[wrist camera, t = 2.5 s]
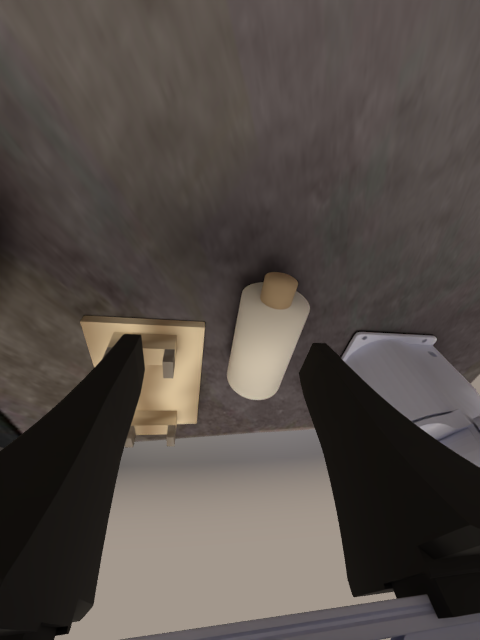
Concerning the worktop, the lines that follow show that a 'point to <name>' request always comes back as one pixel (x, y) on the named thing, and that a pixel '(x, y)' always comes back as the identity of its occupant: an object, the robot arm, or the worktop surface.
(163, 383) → the cradle
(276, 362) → the white cylinder with cap
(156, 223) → the worktop surface
